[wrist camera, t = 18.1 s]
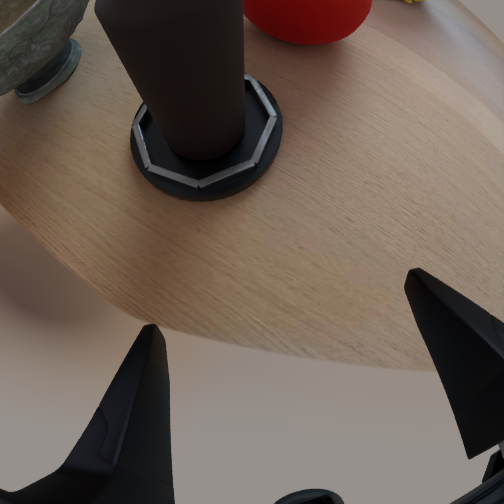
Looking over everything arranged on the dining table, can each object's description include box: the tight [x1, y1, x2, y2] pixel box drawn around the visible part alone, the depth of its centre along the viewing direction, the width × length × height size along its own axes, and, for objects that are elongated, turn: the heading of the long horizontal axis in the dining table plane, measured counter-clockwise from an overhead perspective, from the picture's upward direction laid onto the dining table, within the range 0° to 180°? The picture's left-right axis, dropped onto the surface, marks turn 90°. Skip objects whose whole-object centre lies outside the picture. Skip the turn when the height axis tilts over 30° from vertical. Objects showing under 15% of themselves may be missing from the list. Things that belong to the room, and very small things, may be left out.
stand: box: [130, 73, 282, 202], centre depth 24 cm, size 13×13×2 cm
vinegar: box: [94, 0, 245, 161], centre depth 14 cm, size 7×7×20 cm
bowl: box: [0, 0, 89, 104], centre depth 18 cm, size 20×19×15 cm
